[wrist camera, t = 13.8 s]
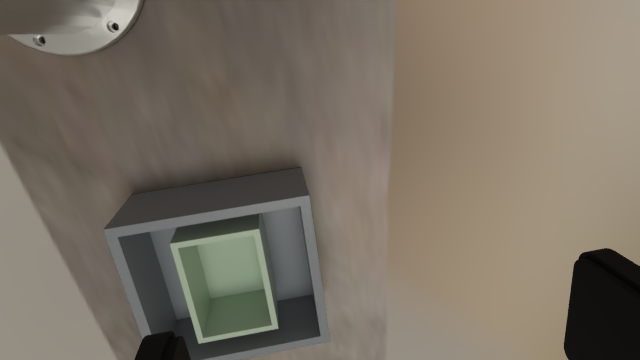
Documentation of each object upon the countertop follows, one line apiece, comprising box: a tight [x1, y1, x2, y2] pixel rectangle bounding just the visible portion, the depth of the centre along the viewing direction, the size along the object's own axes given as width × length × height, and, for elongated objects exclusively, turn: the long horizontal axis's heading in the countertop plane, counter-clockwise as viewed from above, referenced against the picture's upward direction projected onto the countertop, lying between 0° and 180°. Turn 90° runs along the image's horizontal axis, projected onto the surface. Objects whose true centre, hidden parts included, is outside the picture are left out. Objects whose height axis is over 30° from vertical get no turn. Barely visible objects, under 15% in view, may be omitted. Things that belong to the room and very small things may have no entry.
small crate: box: [170, 213, 279, 344], centre depth 36 cm, size 7×10×6 cm
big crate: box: [103, 167, 330, 360], centre depth 36 cm, size 15×16×7 cm
